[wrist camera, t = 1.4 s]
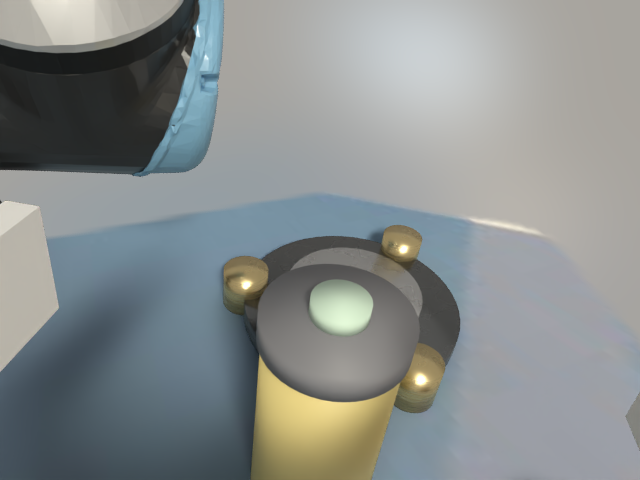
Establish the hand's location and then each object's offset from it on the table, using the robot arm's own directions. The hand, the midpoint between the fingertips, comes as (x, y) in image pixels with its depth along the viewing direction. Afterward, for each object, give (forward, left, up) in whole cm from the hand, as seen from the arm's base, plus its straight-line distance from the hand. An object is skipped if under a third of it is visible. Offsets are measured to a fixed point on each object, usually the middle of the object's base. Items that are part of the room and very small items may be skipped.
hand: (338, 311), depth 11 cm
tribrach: (-8, +21, -20) cm, 30 cm away
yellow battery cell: (-3, +8, -20) cm, 22 cm away
